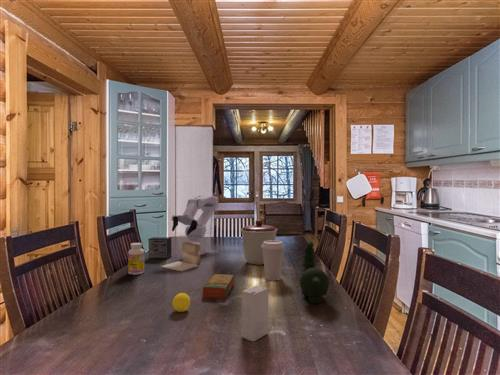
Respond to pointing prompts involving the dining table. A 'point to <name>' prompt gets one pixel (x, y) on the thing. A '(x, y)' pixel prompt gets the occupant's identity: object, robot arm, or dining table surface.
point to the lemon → (181, 302)
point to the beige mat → (179, 266)
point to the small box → (160, 248)
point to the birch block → (191, 252)
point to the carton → (218, 286)
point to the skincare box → (254, 313)
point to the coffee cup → (272, 259)
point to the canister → (256, 241)
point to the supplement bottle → (136, 259)
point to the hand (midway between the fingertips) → (180, 231)
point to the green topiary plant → (313, 277)
